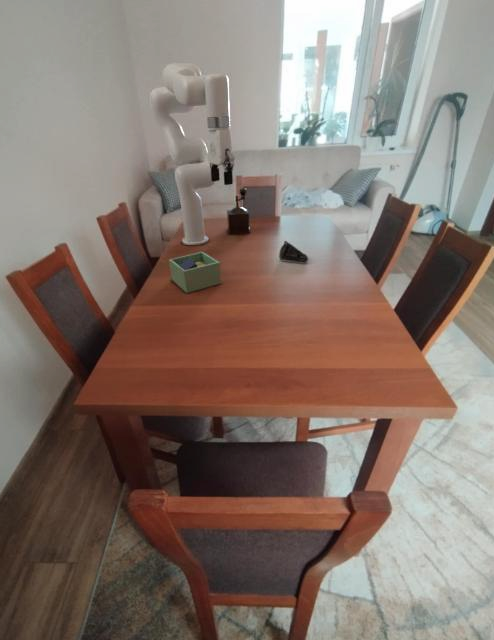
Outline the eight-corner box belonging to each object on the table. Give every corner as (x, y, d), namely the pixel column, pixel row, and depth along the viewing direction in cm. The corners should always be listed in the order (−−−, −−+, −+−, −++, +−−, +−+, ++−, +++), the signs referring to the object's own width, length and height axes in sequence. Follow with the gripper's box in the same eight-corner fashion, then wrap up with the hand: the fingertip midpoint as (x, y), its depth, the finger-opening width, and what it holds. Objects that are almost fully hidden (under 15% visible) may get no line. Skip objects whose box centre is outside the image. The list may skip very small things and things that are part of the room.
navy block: (184, 274, 117) (178, 265, 113) (194, 265, 117) (188, 257, 113) (191, 280, 115) (185, 272, 111) (201, 272, 115) (195, 263, 111)
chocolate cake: (313, 259, 134) (297, 234, 133) (310, 260, 128) (292, 234, 127) (294, 273, 139) (278, 250, 138) (290, 275, 133) (273, 250, 132)
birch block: (190, 276, 123) (189, 263, 120) (201, 273, 125) (200, 261, 122) (195, 280, 120) (194, 267, 117) (206, 277, 122) (205, 265, 119)
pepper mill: (251, 233, 163) (250, 193, 152) (228, 235, 163) (227, 194, 152) (247, 225, 175) (246, 187, 164) (226, 226, 175) (224, 188, 164)
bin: (172, 280, 123) (168, 259, 118) (204, 271, 128) (202, 251, 123) (186, 293, 114) (183, 271, 109) (221, 283, 118) (219, 262, 114)
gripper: (197, 124, 113) (202, 181, 124) (221, 125, 101) (224, 187, 112) (216, 123, 116) (219, 178, 127) (242, 123, 104) (243, 184, 115)
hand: (221, 182), depth 119 cm, fingers open, 9 cm apart
